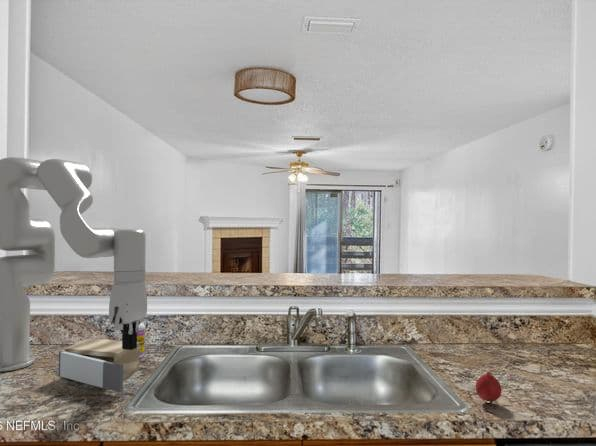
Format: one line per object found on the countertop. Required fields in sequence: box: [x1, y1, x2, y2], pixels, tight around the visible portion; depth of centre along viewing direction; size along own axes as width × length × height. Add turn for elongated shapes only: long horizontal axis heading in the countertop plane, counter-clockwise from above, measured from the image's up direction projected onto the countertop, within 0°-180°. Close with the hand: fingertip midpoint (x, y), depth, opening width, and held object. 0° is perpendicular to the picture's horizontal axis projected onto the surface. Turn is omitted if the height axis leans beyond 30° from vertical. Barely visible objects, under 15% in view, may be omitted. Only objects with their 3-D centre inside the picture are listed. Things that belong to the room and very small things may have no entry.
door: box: [57, 350, 124, 393], centre depth 106 cm, size 23×1×6 cm, turn 65°
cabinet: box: [64, 337, 140, 381], centre depth 115 cm, size 16×10×8 cm, turn 80°
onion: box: [475, 371, 502, 403], centre depth 102 cm, size 6×6×8 cm
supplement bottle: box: [136, 322, 146, 359], centre depth 130 cm, size 7×7×13 cm
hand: (129, 348), depth 107 cm, fingers closed
